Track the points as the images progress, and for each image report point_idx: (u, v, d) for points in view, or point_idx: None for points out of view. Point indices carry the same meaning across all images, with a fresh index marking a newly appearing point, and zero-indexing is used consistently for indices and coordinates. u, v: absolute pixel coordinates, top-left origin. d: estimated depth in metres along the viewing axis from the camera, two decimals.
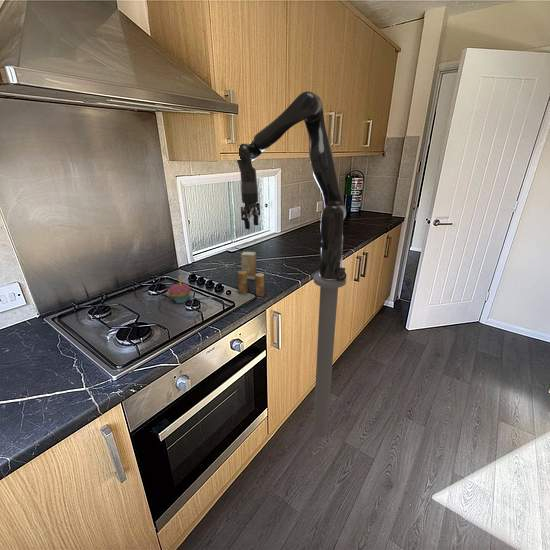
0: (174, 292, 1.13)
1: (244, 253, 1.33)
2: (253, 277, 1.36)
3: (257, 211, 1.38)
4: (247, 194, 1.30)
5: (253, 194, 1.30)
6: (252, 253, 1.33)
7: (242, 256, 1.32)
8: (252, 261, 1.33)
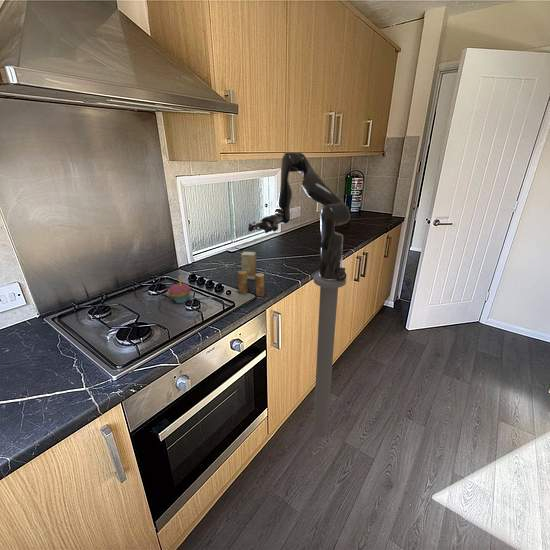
0: (174, 292, 1.13)
1: (244, 253, 1.33)
2: (253, 277, 1.36)
3: (269, 223, 1.44)
4: None
5: None
6: (252, 253, 1.33)
7: (242, 256, 1.32)
8: (252, 261, 1.33)
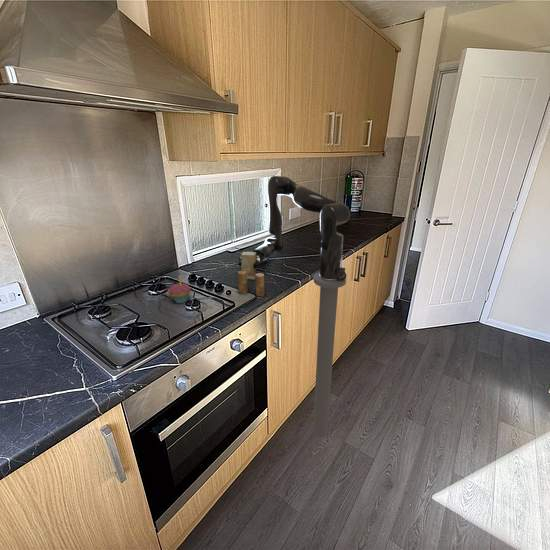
0: (174, 292, 1.13)
1: (244, 253, 1.33)
2: (253, 277, 1.36)
3: (258, 257, 1.38)
4: None
5: None
6: (252, 253, 1.33)
7: (242, 256, 1.32)
8: (252, 261, 1.33)
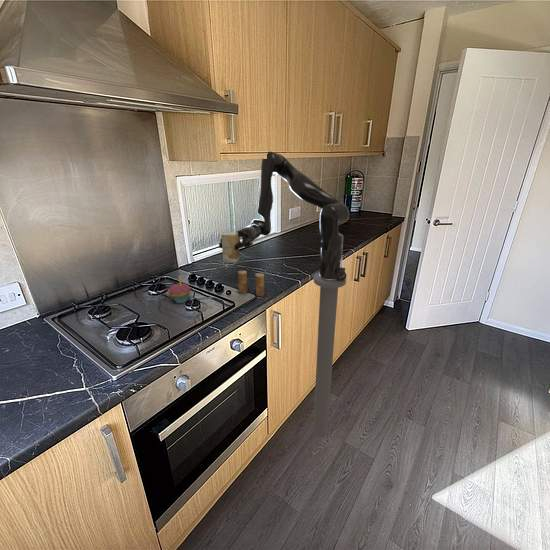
0: (174, 292, 1.13)
1: (224, 233, 1.21)
2: (235, 260, 1.24)
3: (241, 238, 1.26)
4: None
5: None
6: (233, 233, 1.21)
7: (222, 236, 1.20)
8: (233, 242, 1.21)
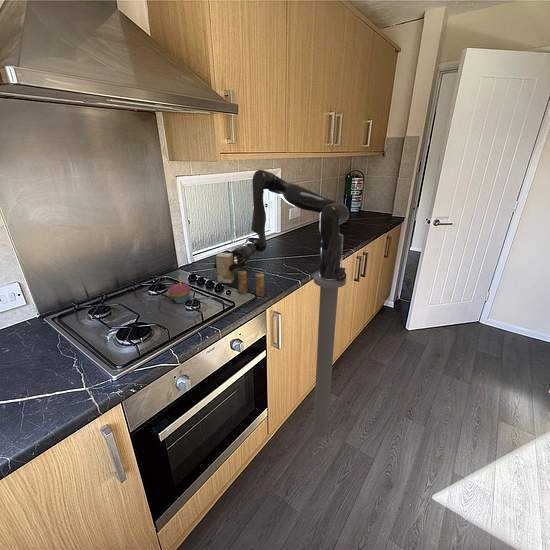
0: (174, 292, 1.13)
1: (219, 254, 1.21)
2: (230, 280, 1.24)
3: (236, 259, 1.26)
4: None
5: None
6: (228, 254, 1.21)
7: (217, 258, 1.21)
8: (228, 264, 1.21)
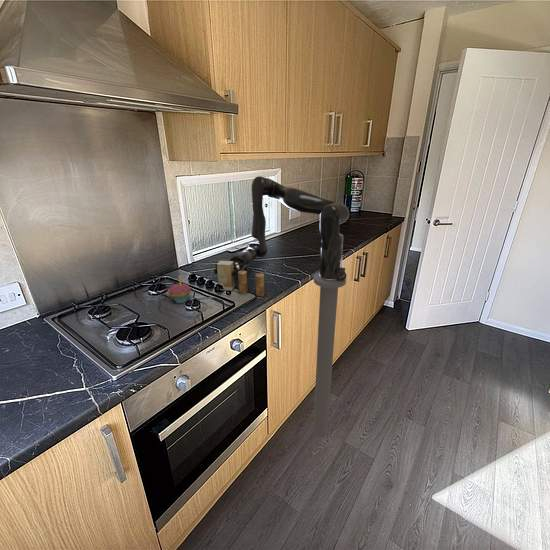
0: (174, 292, 1.13)
1: (220, 262, 1.23)
2: (230, 288, 1.25)
3: (238, 264, 1.27)
4: None
5: (236, 254, 1.36)
6: (229, 262, 1.23)
7: (218, 266, 1.22)
8: (229, 272, 1.22)
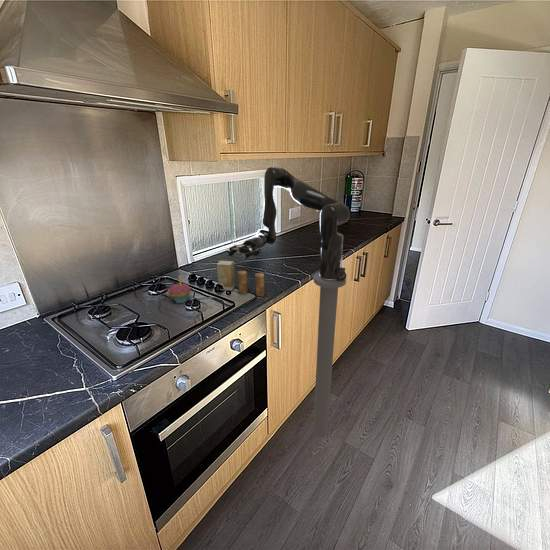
0: (174, 292, 1.13)
1: (220, 262, 1.23)
2: (230, 288, 1.25)
3: (250, 247, 1.36)
4: None
5: None
6: (229, 262, 1.23)
7: (218, 266, 1.22)
8: (229, 272, 1.22)
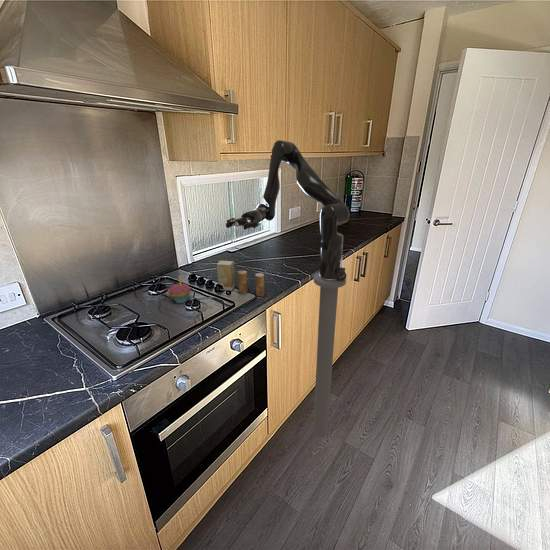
0: (174, 292, 1.13)
1: (220, 262, 1.23)
2: (230, 288, 1.25)
3: (249, 219, 1.31)
4: None
5: None
6: (229, 262, 1.23)
7: (218, 266, 1.22)
8: (229, 272, 1.22)
